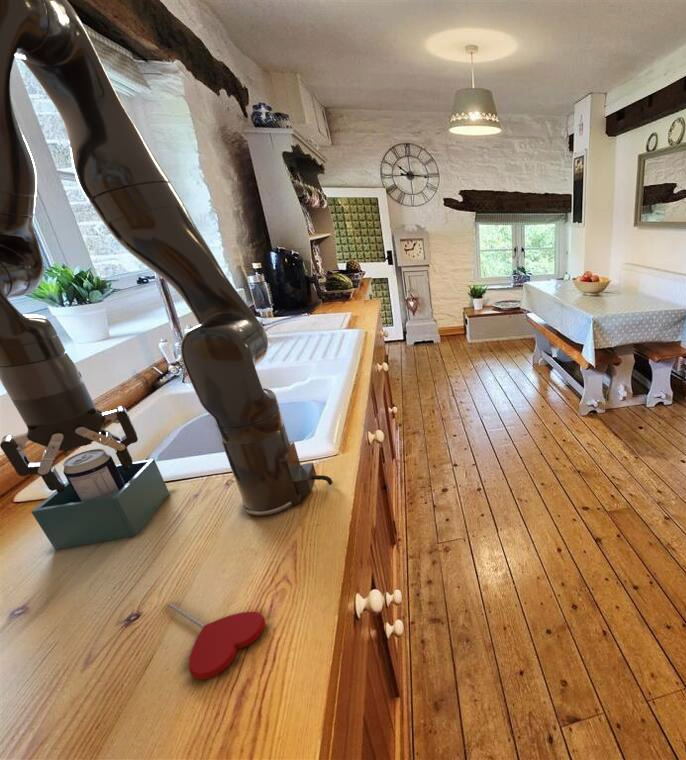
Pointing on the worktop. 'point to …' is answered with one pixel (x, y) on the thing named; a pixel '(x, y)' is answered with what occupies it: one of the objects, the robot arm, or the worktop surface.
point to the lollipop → (221, 641)
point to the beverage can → (93, 475)
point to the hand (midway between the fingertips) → (95, 478)
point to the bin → (103, 509)
